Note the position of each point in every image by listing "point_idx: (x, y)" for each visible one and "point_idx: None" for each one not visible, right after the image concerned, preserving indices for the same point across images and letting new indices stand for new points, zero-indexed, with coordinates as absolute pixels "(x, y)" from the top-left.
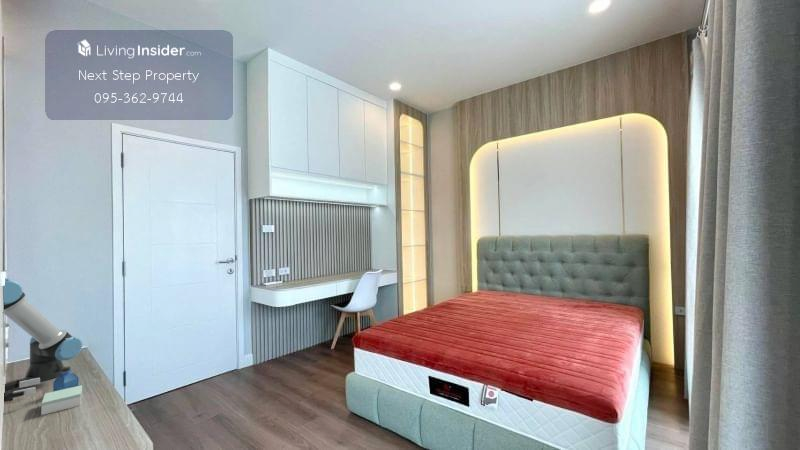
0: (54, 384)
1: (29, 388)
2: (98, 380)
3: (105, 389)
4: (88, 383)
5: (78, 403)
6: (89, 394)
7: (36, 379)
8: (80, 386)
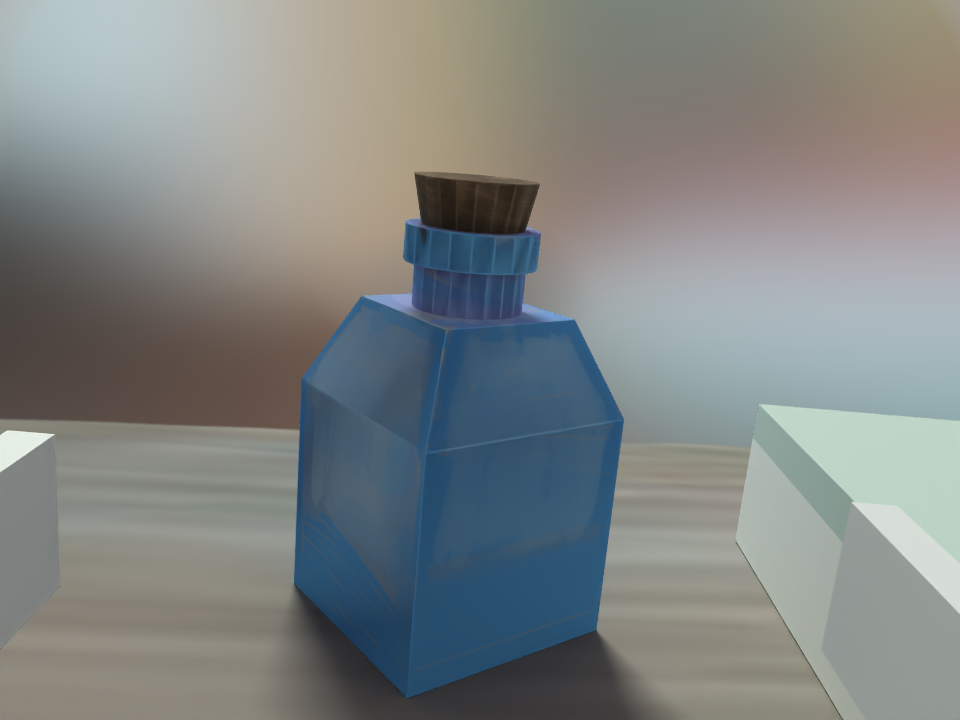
0: (448, 490)
1: (934, 556)
2: (262, 443)
3: (655, 454)
4: (271, 481)
5: None
6: (727, 511)
7: (20, 482)
8: (807, 411)
